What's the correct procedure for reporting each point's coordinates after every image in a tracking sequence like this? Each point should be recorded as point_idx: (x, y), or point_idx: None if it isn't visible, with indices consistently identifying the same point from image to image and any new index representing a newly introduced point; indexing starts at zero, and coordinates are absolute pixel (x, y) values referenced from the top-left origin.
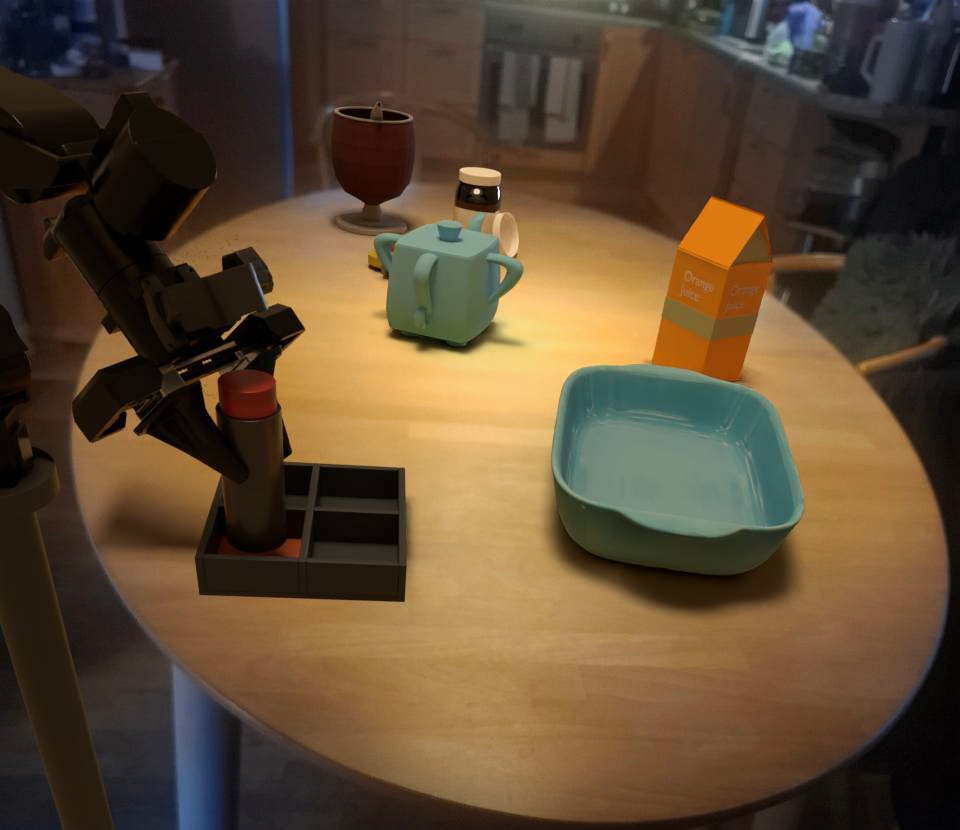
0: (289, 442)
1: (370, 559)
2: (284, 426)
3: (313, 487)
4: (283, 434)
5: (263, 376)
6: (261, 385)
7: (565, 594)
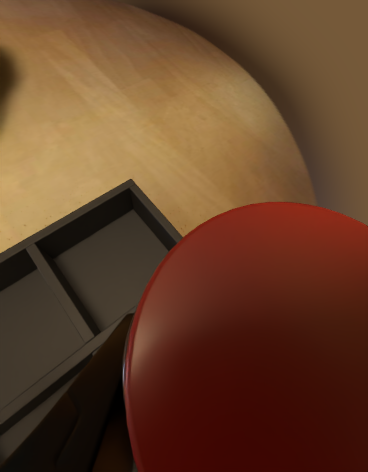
0: (119, 323)
1: (99, 261)
2: (102, 347)
3: (30, 392)
4: (123, 335)
5: (191, 335)
6: (284, 247)
7: (40, 121)
